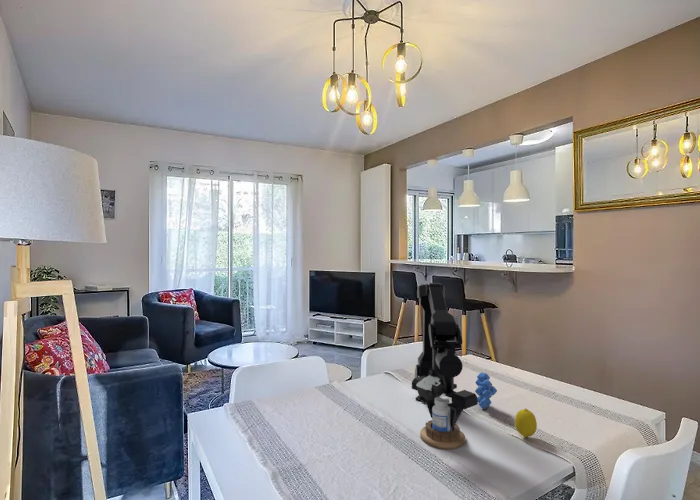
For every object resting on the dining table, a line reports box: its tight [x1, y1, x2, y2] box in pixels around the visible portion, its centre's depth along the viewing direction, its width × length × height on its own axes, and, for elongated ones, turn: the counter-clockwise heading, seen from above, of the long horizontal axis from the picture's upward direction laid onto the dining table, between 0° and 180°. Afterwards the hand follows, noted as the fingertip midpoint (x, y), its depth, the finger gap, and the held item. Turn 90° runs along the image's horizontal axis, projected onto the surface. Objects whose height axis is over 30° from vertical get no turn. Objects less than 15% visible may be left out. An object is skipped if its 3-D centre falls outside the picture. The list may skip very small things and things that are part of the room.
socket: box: [419, 419, 466, 450], centre depth 110 cm, size 12×12×3 cm
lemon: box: [514, 408, 538, 438], centre depth 110 cm, size 6×6×8 cm
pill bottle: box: [431, 395, 452, 432], centre depth 110 cm, size 6×5×10 cm
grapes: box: [474, 372, 498, 410], centre depth 130 cm, size 12×7×12 cm, turn 177°
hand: (442, 422), depth 110 cm, fingers open, 7 cm apart
